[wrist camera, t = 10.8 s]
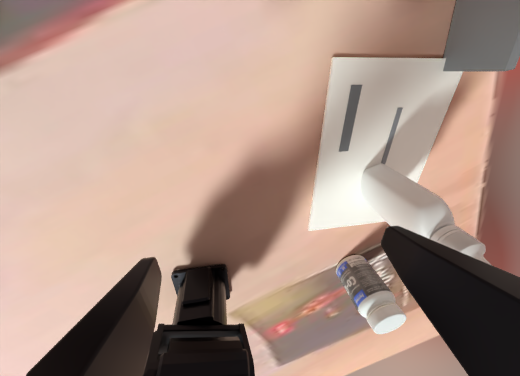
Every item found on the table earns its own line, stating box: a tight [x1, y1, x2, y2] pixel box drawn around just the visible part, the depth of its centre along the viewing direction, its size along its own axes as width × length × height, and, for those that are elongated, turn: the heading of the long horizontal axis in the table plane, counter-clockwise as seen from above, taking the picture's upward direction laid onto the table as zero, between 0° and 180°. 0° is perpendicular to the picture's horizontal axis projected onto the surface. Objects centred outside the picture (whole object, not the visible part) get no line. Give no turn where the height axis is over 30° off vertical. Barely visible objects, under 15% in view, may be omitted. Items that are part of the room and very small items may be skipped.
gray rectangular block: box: [443, 0, 520, 71], centre depth 15 cm, size 8×1×5 cm, turn 10°
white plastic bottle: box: [361, 163, 491, 265], centre depth 19 cm, size 4×6×12 cm
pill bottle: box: [336, 255, 406, 334], centre depth 27 cm, size 5×5×8 cm
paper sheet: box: [308, 57, 463, 231], centre depth 22 cm, size 18×13×1 cm
